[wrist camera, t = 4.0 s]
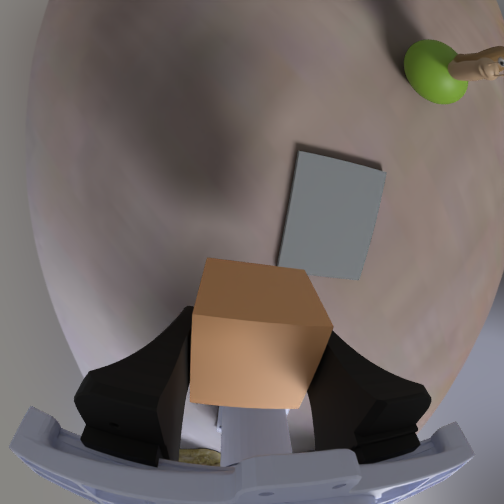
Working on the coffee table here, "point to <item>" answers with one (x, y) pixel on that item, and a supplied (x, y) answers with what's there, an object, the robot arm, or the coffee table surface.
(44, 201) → the coffee table surface
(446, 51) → the snail figurine
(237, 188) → the coffee table surface
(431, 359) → the coffee table surface
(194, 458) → the ceramic model
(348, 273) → the mat
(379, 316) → the coffee table surface
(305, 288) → the cube
